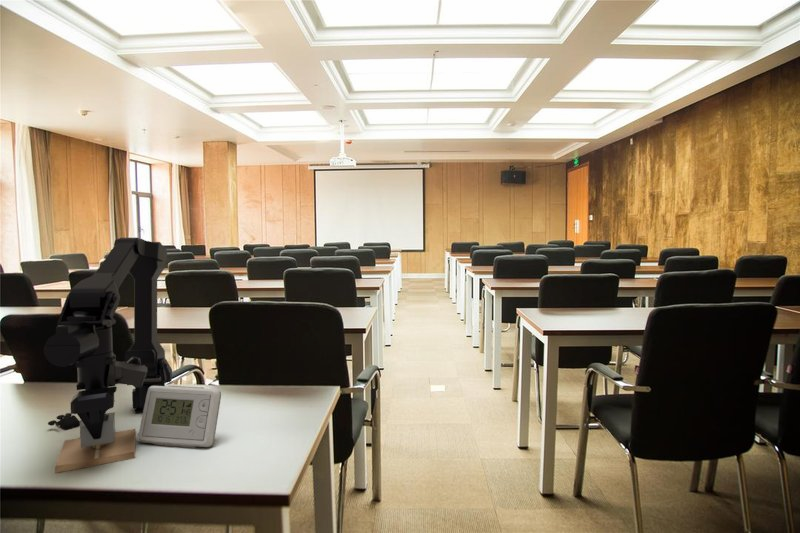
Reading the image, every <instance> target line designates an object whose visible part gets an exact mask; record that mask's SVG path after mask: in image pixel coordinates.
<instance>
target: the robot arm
mask: <svg viewBox="0 0 800 533" xmlns="http://www.w3.org/2000/svg"><path fill="white" fill-rule="evenodd" d="M167 259H168V249H167V247H166V246H165V245H163V244H162V243H161V241H149V240H145V239H143V238H139V237H119V238H116V239H115V240H114V244H113V247H112V249H111V250H110V251H109V253H108V254H107V256H106V257H105V259H104V260H103V261H102V263H101V264H100V266H99V267H98V268H97V269H96V271H95V272H94V273H93V274H92V275H91V276H88V277H87V278H83V279H82V280H80V281H79V282H78V283H76V285H74V286H73V287H72V288H71V289H70V291H69V292H68V294H67V295H66V298H65V301H64V303H63V306H62V309H61V312H60V314H59V318H58V319H57V322H56V325H57V326H56V327H55V334H53V335H51V336H50V337H49V338H48V339H47V340H46V342H45V345H44V346H43V354H44V357H45V358H46V360H47V361H48V362H49V363H50V364H51V365H54V366H55V367H60V368H65V367H69V366H72V365H74V364H75V369H77V383H76V391H78V392H76V394H74V396H73V397H72V399H71V401H70V413H71V414H72V415H77V417H78V418H79V420H81V421H82V422H83V423H84V425H85V426H86V428H87V430H88V431H89V433H90V434H91V436H92V437H93V439H100V438H101V433H102V428H103V422H104V416H105V414H106V413H107V412H108V410H110V409H112V408H114V407H115V406H114V405H115V402H116V400H115V392H117V389H118V387H117V386H116V385H118V384H122V385H127V386H133V387H134V388H133V389H132V390H131V394H132V395H131V396H132V400H131V401H132V409H133V410H134V414H141V413H143V410H144V405H145V400H146V395H147V391H148V389H149V387H150V386H166V384H167V383H171V382H172V380H173V379H172V377H173V369H172V367H171V366H170V364H169V362H168V360H167V359H166V350H165V349H164V347H163V346H162V344H161V343H160V342H159V340H158V279H159V277H160V275H161V274H162V273H163V271H164V270H165V266H166V261H167ZM128 274H130V276H132V278H133V280H134V281H133V282H134V285H133V288H134V292H133V293H134V295H133V297H134V299H133V303H134V304H133V305H134V306H133V308H134V311H133V317H134V318H133V319H134V320H133V323H134V324H133V333H134V334H133V337H134V338H133V343H132V345H131V346H130V347H129V349H128V350H127V349H126V351H125V353H124V360H123V361H119V360H116V359H117V356H116V354H115V353H114V349H113V348H114V347H113V325H115V324H116V323H117V321H116V319H115V318H114V315H115V313H116V311H117V309H118V307H119V305H120V300H121V296H120V293H119V289H120V286H122V283H123V282H124V280H125V279H126V277H127V275H128Z"/></svg>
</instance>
